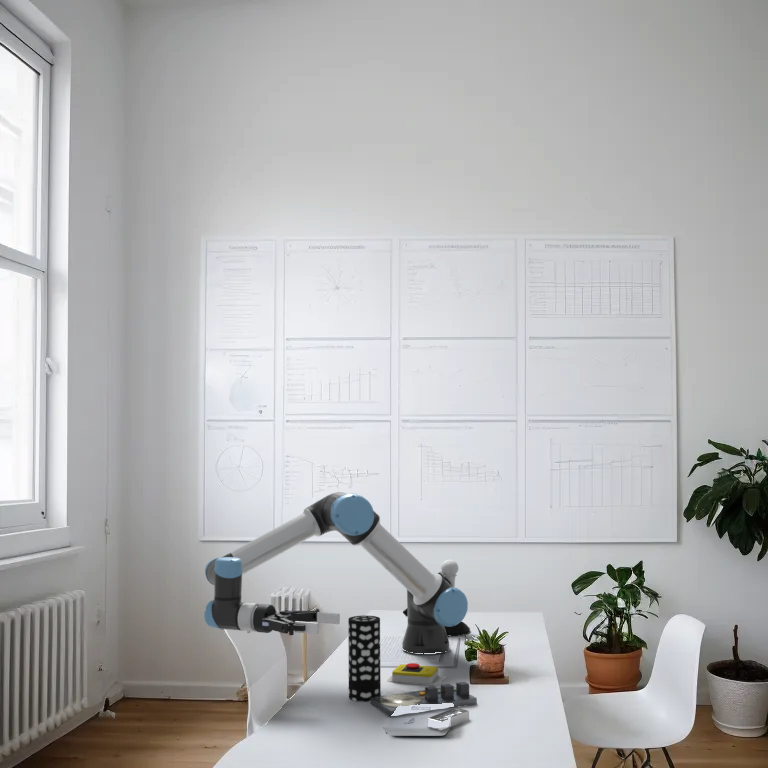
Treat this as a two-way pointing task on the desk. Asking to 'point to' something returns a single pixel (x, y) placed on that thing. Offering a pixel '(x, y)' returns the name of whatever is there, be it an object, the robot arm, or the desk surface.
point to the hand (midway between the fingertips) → (329, 623)
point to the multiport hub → (456, 718)
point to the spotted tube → (364, 658)
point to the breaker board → (416, 693)
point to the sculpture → (449, 575)
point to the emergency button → (416, 674)
